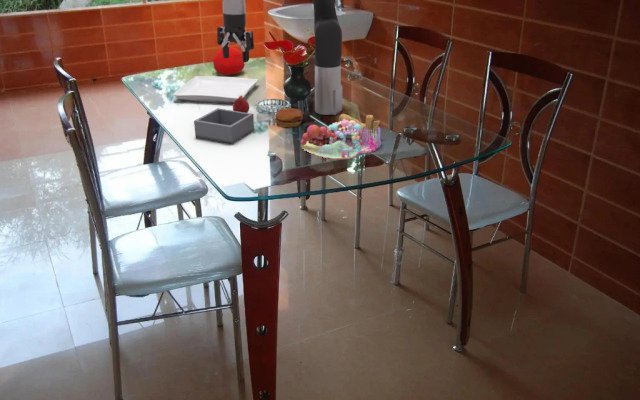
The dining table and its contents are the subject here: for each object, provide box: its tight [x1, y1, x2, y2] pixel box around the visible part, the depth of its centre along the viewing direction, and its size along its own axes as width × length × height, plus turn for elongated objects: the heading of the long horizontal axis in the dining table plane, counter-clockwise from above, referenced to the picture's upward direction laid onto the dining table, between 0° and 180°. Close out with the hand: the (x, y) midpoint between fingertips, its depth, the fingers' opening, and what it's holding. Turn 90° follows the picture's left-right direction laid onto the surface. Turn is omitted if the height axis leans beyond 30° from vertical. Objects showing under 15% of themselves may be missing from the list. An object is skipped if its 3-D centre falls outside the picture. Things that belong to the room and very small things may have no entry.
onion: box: [232, 95, 250, 113], centre depth 226 cm, size 6×6×8 cm
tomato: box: [212, 46, 246, 76], centre depth 277 cm, size 13×13×13 cm
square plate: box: [172, 75, 260, 104], centre depth 252 cm, size 27×27×4 cm
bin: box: [193, 107, 255, 146], centre depth 212 cm, size 14×14×6 cm
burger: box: [274, 107, 304, 128], centre depth 222 cm, size 10×10×5 cm
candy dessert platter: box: [300, 113, 382, 161], centre depth 203 cm, size 25×24×9 cm
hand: (235, 59), depth 219 cm, fingers open, 8 cm apart
